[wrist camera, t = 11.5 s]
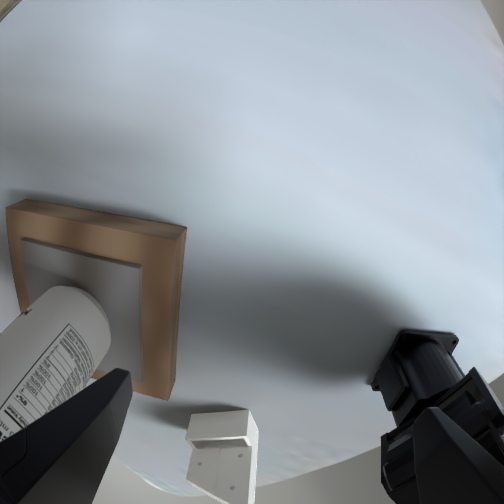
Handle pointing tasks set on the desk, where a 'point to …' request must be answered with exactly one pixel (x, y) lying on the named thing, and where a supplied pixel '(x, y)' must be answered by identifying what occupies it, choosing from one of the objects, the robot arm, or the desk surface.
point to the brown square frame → (107, 280)
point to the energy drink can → (49, 355)
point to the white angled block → (224, 455)
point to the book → (7, 7)
